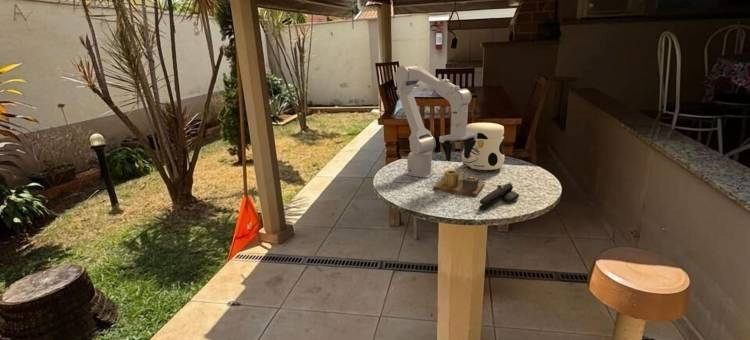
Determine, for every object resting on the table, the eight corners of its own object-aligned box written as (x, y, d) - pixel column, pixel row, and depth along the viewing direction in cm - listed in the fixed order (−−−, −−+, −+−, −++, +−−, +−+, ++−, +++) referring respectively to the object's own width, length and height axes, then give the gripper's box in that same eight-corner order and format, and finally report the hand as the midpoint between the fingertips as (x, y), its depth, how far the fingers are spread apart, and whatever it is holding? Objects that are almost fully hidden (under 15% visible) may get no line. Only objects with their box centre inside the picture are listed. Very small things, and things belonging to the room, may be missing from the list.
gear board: (433, 189, 142) (433, 176, 141) (443, 180, 151) (443, 167, 150) (476, 196, 135) (477, 182, 133) (484, 186, 144) (485, 173, 142)
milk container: (455, 170, 162) (457, 128, 156) (469, 159, 176) (471, 120, 170) (497, 177, 153) (500, 132, 148) (507, 165, 167) (511, 124, 161)
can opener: (504, 194, 137) (505, 179, 135) (521, 200, 132) (522, 184, 130) (470, 207, 127) (471, 191, 125) (488, 214, 122) (489, 198, 120)
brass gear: (455, 188, 140) (455, 175, 138) (442, 186, 142) (442, 173, 141) (460, 183, 144) (460, 171, 142) (447, 181, 146) (447, 169, 145)
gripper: (446, 127, 134) (444, 164, 139) (482, 123, 138) (480, 159, 143) (437, 123, 141) (436, 159, 145) (472, 120, 145) (470, 154, 149)
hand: (457, 159), depth 144 cm, fingers open, 7 cm apart
